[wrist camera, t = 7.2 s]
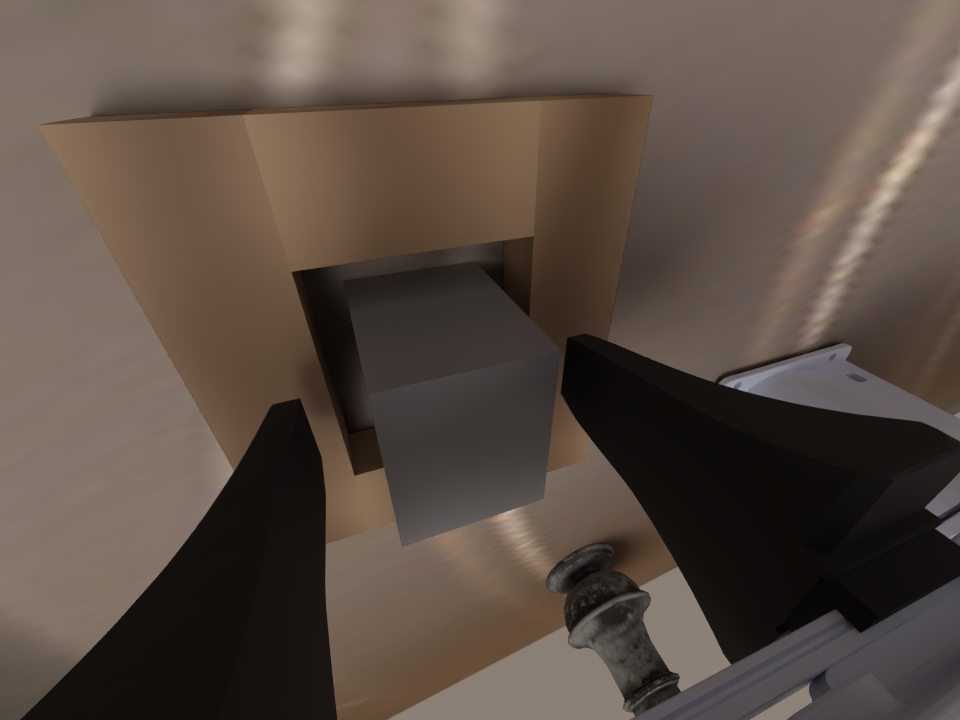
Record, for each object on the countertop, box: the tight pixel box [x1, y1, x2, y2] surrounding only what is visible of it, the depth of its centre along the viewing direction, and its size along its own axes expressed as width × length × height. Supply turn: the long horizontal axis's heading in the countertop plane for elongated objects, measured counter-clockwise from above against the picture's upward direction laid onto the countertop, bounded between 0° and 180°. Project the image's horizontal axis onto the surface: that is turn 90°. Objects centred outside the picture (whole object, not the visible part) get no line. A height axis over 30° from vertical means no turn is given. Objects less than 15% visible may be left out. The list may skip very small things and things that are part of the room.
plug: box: [343, 261, 561, 547], centre depth 11 cm, size 4×5×6 cm
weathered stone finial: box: [546, 543, 681, 717], centre depth 23 cm, size 6×6×12 cm
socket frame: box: [38, 93, 653, 544], centre depth 13 cm, size 12×13×2 cm
